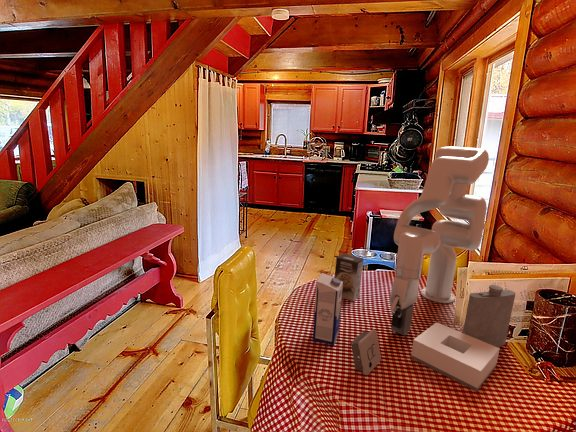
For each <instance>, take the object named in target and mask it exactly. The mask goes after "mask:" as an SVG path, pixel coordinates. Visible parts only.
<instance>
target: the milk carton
mask: <svg viewBox="0 0 576 432" xmlns="http://www.w3.org/2000/svg"><path fill="white" fill-rule="evenodd" d="M342 288H343V282H342V281H340V280H338V279H336V278H335V276H332V275H329V274H326V273H324V272H321V274H320V275H319V277H318V278H317V280H316V284H315V300H314V301H315V302H314V316H313V317H314V318H313V331H312V341H313V342H317V343H322V344H326V345H330V346H335V345H336V341H337V339H338V336H339V333H340V321H341V310H342V309H341V308H342V299H343V298H342Z"/></svg>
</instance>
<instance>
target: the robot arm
mask: <svg viewBox="0 0 576 432" xmlns="http://www.w3.org/2000/svg"><path fill="white" fill-rule="evenodd" d="M434 156H435V158H434V160H433V161H432V162H431V165H430V168H429V170H428V173H427V176H426V179H425V183H424V186H423V188H422V192H421V195H420V196H419V197H418V198H417V199H415V200H413V201H412V202H410V203H409V204H408V205H407V206H405V208H404V209H403V210H402V212H401V213H400V215H399V218H398V219H397V223H396V225H395V228H394V233H393V242H394V243H395V244H396V246H398V248H397V256H396V257H397V258H396V265H395V272H394V273H395V276H394V279H393V281H392V282H393V283H392V286H391V290H390V295H389V301H388V302H389V305H390V308H389V310H390V312H391V315H392V317H391V326H394V327H396V328H399V329H400V328H401V326H402V318H403V317H401V316H402V313H403V310H404V309H405V308H407V307H408V306H410V305H415V303H416V302H417V300H418V296H419V286H420V279H421V276H422V275H421V274H422V269H423V268H422V267H423V261H424V255H428V254H429V255H430V256H429V257H430V258H429V265H428V271H427V272H428V273H427V277H426V278H427V279H426V284H425V285H426V286H425V287H424V288H422V289H421V293H420V294H421V295H422V296H423V298H425V299H427V300H428V301H432V302H435V303H440V304H450V303H453V302H454V301H455V300H456V296H455V295H454V294H453V293H452V290H453V287H454V277H455V273H456V272H455V271H456V265H457V260H458V258H457V257H458V256H457V253H456V250H455V249H454V248H459V249H462V250H468V251H476V250H478V249H479V248H480V245H481V244H482V243H481V242H482V239H483V234H484V233H483V232H484V226H485V220H486V216H487V201H486V200H485V198H484V197H481V196H478V195H473V194H472V195H471V194H467V190H468V189H467V188H468V185H472V184H474V183H475V182H477V181H478V180H479V178H480V176H481V175H482V174H483V173H484V172H485V171H486V169H487V167H488V164H489V153H488V151H487V150H486V149H485V148H476V147H464V146H463V147H462V146H461V147H460V146H442V147H439V148H438V149H437V150H436V151H435V155H434ZM435 209H439V214H440V215H441V216H443V217H446V218H450V219H454V221H453V220H450V219H449V220H447V219H439V220H436V221H435V222H434V223H433V224H432V227H431V229H428V228H423V227H418V226H413V225H410V223H411V221H412V219H414V217H416V216H418V215H419V214H421V213H424V212H428V211H430V210H431V211H432V210H435ZM455 219H456V220H462V221H467V222H468V223H465V222H459V221H455ZM398 304H399V305H400V306H401V307H400V306H398ZM397 308H398V309H400V312H398V311H397ZM414 309H415V306H413V310H414ZM413 313H414V312H413ZM413 313H412V315H413Z"/></svg>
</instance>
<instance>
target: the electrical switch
mask: <svg viewBox="0 0 576 432" xmlns="http://www.w3.org/2000/svg"><path fill="white" fill-rule="evenodd" d="M350 347H351V352H352V358H353V363H354V369H355V370H357V371H360V372H362V374H363V375H364V376H368V375H369V374H370V373H371V372H373V370H374V368H376V367H377V366H378V364H380V362H381V361H382V357H381V356H382V354H381V351H380V345H379V338H378V332H377V330H376V329H371V330H370V331H362V332H361V333H360V334H359V335H357V336H356V337H355V338H354V339H353V340H352V341H351V342H350Z"/></svg>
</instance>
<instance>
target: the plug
mask: <svg viewBox="0 0 576 432" xmlns="http://www.w3.org/2000/svg"><path fill="white" fill-rule="evenodd" d="M414 305H415V304H414ZM414 305H410V306H408V307H407V308H405V309H404V310H403V313H402V316H401V317H403V318H402V326H401V328H400V329H399V328H396V327H394V326H392V325H391V328H390V330H391V331H392V334H397V333H398V334H400V335H402V336H407V333H409V332H410V331H411V326H412V319H413V314H412V313H414V309H413V306H414ZM398 306H400V305H399V304H398ZM400 307H401V306H400ZM414 307H415V306H414ZM397 311H398V312H400V309H398V308H397Z"/></svg>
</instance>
